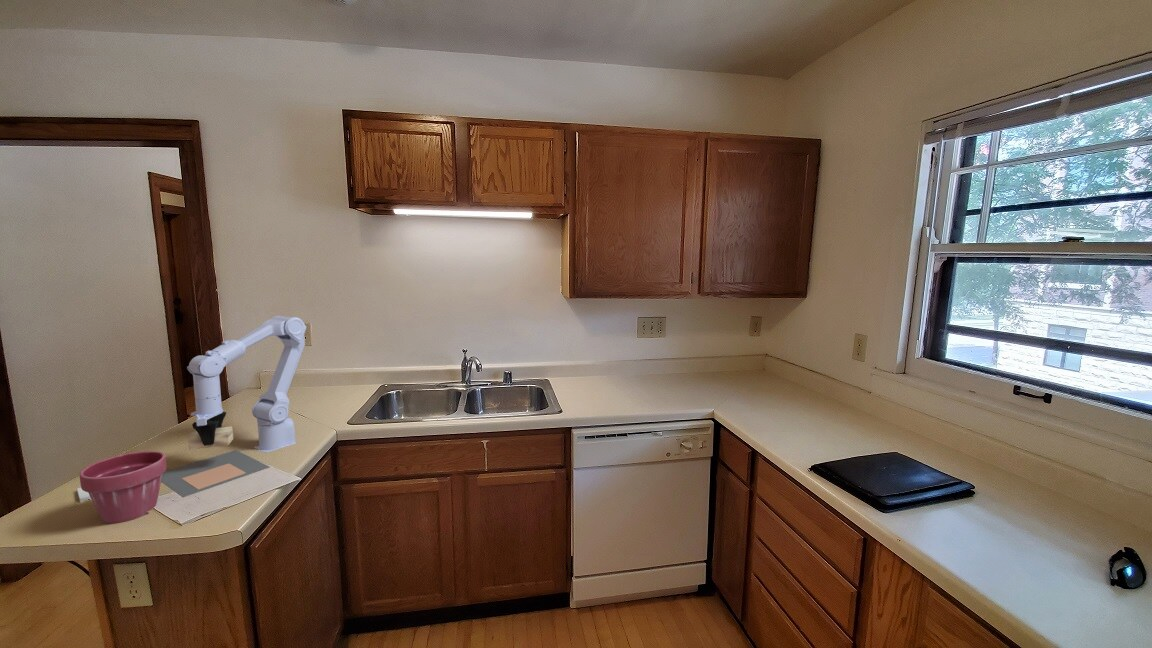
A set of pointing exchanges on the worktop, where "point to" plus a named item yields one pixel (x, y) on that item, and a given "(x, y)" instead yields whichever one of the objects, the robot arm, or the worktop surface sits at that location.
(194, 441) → the card box
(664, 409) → the worktop surface
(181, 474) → the mat
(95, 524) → the worktop surface
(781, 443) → the worktop surface
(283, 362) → the robot arm
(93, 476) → the plant pot
